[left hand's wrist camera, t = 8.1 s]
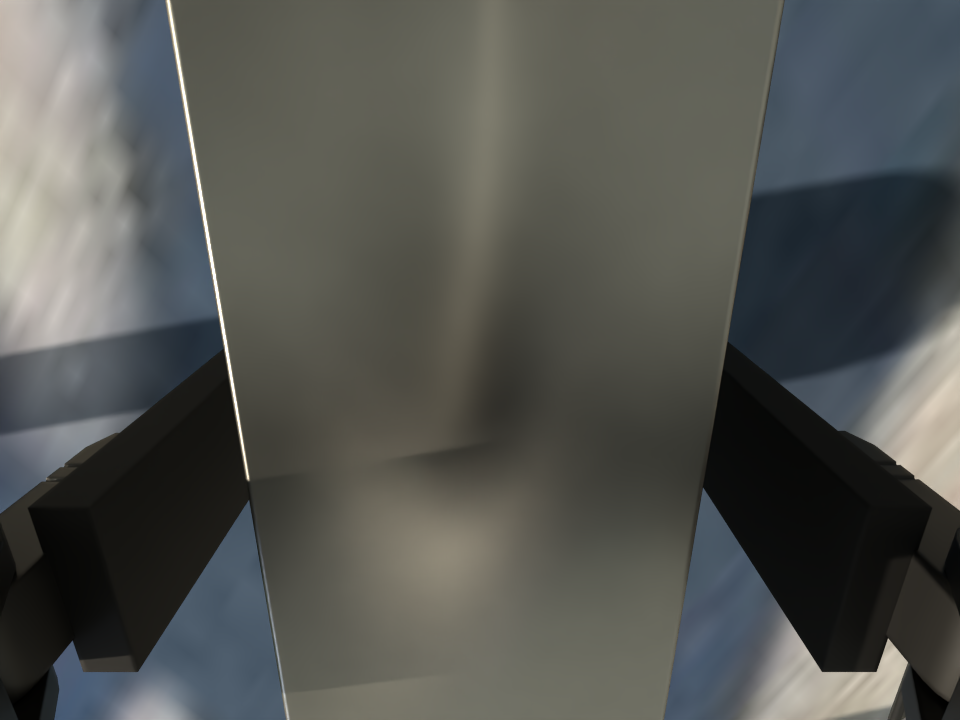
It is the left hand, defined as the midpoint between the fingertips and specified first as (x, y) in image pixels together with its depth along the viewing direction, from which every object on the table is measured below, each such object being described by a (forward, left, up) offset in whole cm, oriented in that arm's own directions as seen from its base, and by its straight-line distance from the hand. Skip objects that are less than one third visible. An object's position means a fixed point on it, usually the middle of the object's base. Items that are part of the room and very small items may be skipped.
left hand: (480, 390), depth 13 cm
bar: (+7, +4, -2) cm, 8 cm away
